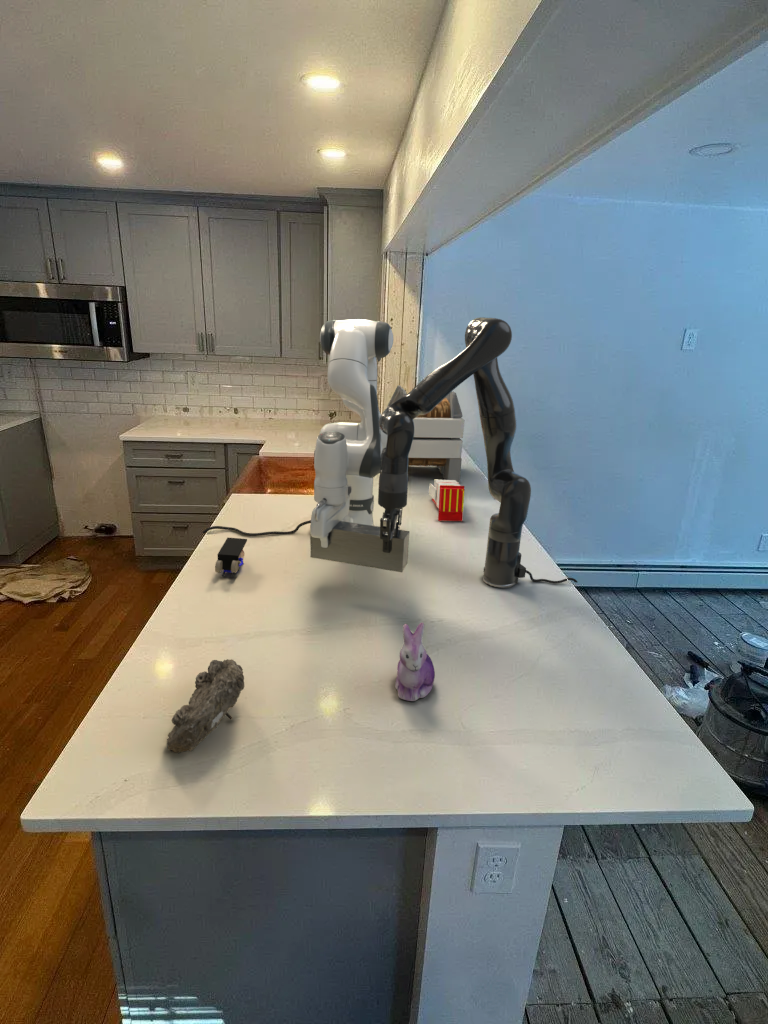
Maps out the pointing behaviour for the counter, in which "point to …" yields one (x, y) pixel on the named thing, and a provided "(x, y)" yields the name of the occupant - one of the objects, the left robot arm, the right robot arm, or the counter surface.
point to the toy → (448, 499)
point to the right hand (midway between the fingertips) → (390, 547)
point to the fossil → (206, 705)
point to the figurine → (414, 666)
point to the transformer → (437, 436)
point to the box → (362, 547)
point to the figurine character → (230, 556)
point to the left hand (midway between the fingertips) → (330, 541)
